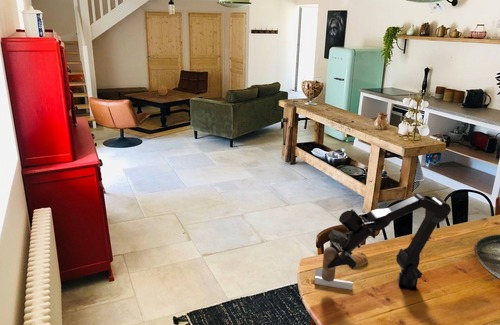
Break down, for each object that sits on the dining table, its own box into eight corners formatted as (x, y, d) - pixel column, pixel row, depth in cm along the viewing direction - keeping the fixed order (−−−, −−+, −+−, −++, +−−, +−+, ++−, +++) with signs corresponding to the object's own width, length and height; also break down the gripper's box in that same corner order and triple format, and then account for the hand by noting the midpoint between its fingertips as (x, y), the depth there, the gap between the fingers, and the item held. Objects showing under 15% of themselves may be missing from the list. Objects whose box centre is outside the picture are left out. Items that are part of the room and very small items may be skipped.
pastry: (357, 270, 174) (358, 263, 173) (344, 264, 179) (344, 256, 177) (368, 262, 180) (369, 255, 179) (356, 256, 185) (356, 249, 183)
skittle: (335, 275, 160) (338, 246, 156) (333, 282, 156) (336, 252, 151) (323, 272, 162) (325, 243, 158) (320, 279, 158) (322, 249, 153)
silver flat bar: (352, 288, 162) (353, 282, 161) (352, 289, 161) (352, 283, 160) (314, 282, 166) (315, 276, 165) (314, 283, 165) (315, 277, 164)
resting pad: (332, 271, 173) (332, 270, 173) (331, 281, 166) (331, 280, 166) (315, 269, 174) (315, 268, 174) (314, 278, 168) (314, 277, 168)
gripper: (335, 213, 160) (306, 239, 163) (351, 237, 143) (318, 265, 145) (352, 230, 164) (324, 254, 166) (370, 255, 146) (338, 282, 149)
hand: (325, 263), depth 157 cm, fingers closed on skittle, 5 cm apart
